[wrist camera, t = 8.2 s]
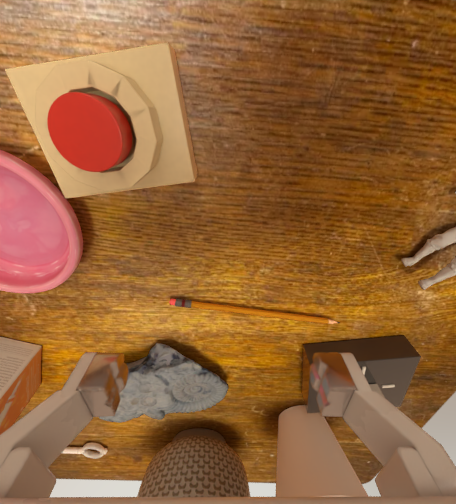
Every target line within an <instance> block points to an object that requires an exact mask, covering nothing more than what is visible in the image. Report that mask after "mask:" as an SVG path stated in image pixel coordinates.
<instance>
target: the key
mask: <svg viewBox="0 0 456 504" xmlns="http://www.w3.org/2000/svg"><path fill="white" fill-rule="evenodd" d="M87 449H94V450H97V451H99V452H92V451H89V450H87ZM107 451H108V450H107V448H104V447H103V446H102V445H100V444H98V443H87V444H85V445H84V446H83V447H79V448H78V447H66V448H65V449H64V451H63V452H62V453H74V454H76V453H77V454H83V455H85V456H86V457H89V458H94V459H96V458H100V457H102V456H103V454H106V453H107Z"/></svg>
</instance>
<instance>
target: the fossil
mask: <svg viewBox="0 0 456 504" xmlns="http://www.w3.org/2000/svg"><path fill="white" fill-rule="evenodd" d="M127 366H128V373H129V374H128V380H127V383H126V386H125V389H123V390H122V391H121V392H120V393H119V395H120V398H121V400H120V403H119V405H118V408H117V411H116V413H115V416H108V417H99V418H100V419H103V420H106V421H112V422H119V423H120V422H125V421H128V420H131V419H132V418H138V417H140V416H141V415H143V414H145V415H147V416H149V417H151V418H154V419H158V420H160V419H163V418H164V416H165V414H168V413H174V412H176V413H178V412H181V413H184V412H186V413H189V412H191V411H192V412H195V411H201V410H202V409H204V410H206V408H211V407H212V405H214V406H215V405H216V403H218V402H220V401H221V400H223V398H224V397H225V395H226V393H227V390H228V384H227V383H226V382H225V381H224V380H222V379H221V378H220V377H219V376H218V375H217V374H215V373H213V372H211V371H209V370H208V369H207V368H204V367H202V366H201V365H200V364H198V363H196V362H194V360H192V359H190V358H187V357H185V356H183V355H182V354H180V353H179V352H177V351H176V350H175V349H173V348H171V347H170V346H168V345H164V344H161V343H156V345H155V346H154V347H152V348H151V350H150V353H149V354H148V356H147V357H144V358H142V359H140V360H138V361H135V362H131V363H127Z"/></svg>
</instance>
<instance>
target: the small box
mask: <svg viewBox="0 0 456 504" xmlns="http://www.w3.org/2000/svg"><path fill="white" fill-rule="evenodd" d="M41 354H42V346H41V345H36V344H31V343H27V342H22V341H18V340H13V339H9V338H4V337H0V435H1V434H2V433H3V432H5V431H6V430H7V429H8V428H10V427H11V426H12V425H13V424H14V422H15V421H16V419H17V418H18V416H19V415H20V414H21V412H22V411H23V409H24V408H25V406H26V405H27V404H28V402H29V401H30V399H31V398H32V396H33V395H34V393H35V392H36V391H37V389H38V388H39V386H40V385H41Z"/></svg>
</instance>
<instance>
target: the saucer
mask: <svg viewBox="0 0 456 504" xmlns="http://www.w3.org/2000/svg"><path fill="white" fill-rule="evenodd" d="M82 252H83V237H82V231H81V227H80V224H79V222H78V219H77V217H76V214H75V212H74V210H73V208H72V207H71V205H70V203H69V202H68V200H67V199H66V198H65V197H64V195H63V194H62V193H61V191H60V190H59V189H58V188H57V187H56V186H55V185H54V184H53V183H52V182H51V181H50V180H49V179H48V178H46V177H45V176H44V175H43V174H41V173H40V172H39V171H38V170H36V169H35V168H33V167H32V166H31V165H29V164H28V163H26V162H24V161H23V160H21V159H19V158H18V157H16V156H14V155H12V154H10V153H7V152H5V151H2V150H0V290H2V291H7V292H14V293H37V292H43V291H47V290H50V289H52V288H55V287H57V286H59V285H60V284H62V283H63V282H64V281H66V280H67V279H68V278H69V277H70V276H71V274H72V273H73V272H74V271H75V270H76V268H77V266H78V265H79V262H80V260H81V257H82Z"/></svg>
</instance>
